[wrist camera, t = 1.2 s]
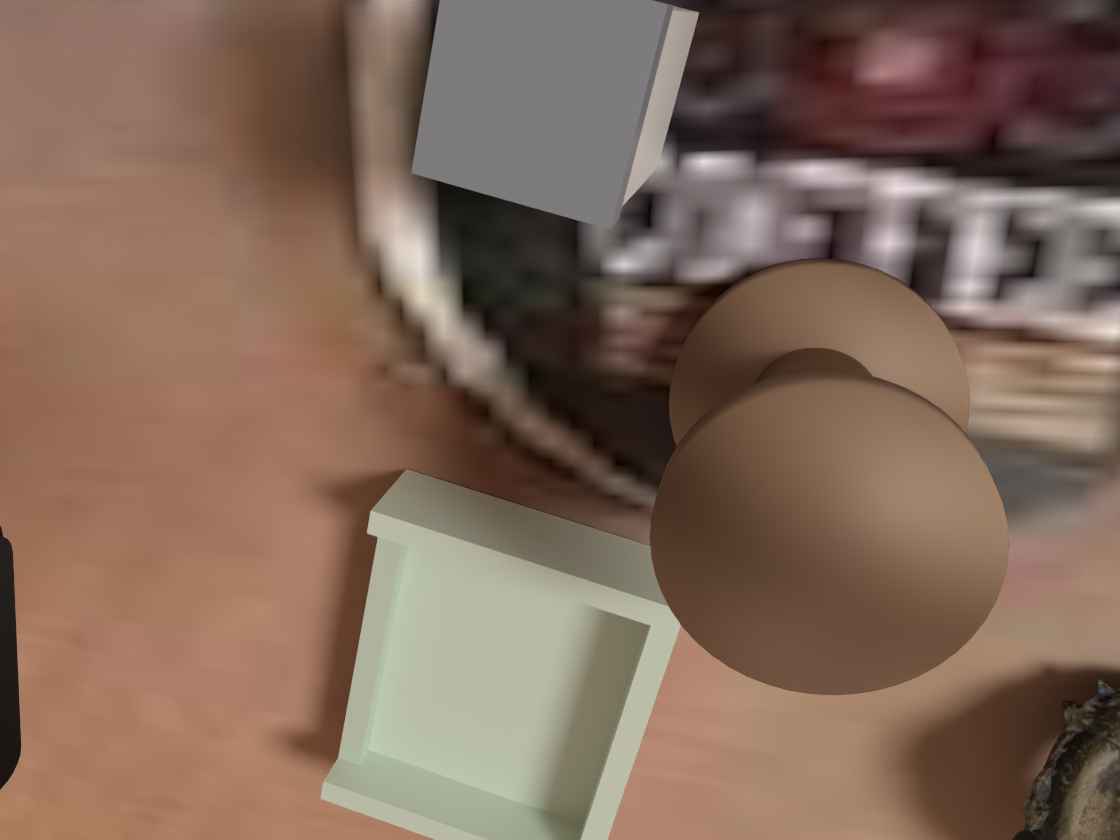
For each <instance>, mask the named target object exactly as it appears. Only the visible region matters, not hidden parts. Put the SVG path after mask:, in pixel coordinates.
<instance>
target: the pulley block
mask: <svg viewBox="0 0 1120 840" xmlns="http://www.w3.org/2000/svg"><path fill="white" fill-rule="evenodd" d="M1098 683H1099V685H1098V689H1097V693H1096V695H1095V696H1094V697H1092V698H1091V699H1090V700H1088V701H1087V702H1085V703H1084V704H1083V705H1080V704H1078V703H1077V702H1075V701H1062V704H1061V706H1062V710H1063V713H1064V717H1065V720H1066V725H1065V727H1064V729H1063V730H1062V732H1061V734H1060V736H1059V737H1058V739H1057V741H1056V743H1055V745H1054V746H1053V748H1052V750H1051V752H1050V754H1049V756H1048V759H1047V761H1046V763H1045V766H1044V768H1043V770H1042V771H1041V772H1040V773H1039V775H1038V776H1037V777H1036V778H1035V779H1034V781H1033V784H1032V792H1031V796H1030V797H1029V798H1028V799H1027V800H1026V801H1025V802H1024V803H1023V809H1024V813H1025V817H1026V826H1025V829H1024V831H1031V832H1035V833H1038V834H1041V835H1045V836H1048V837H1051V838H1055V839H1058V840H1120V688H1119V689H1112V688H1111V687H1110V686H1109V685H1107V684H1105V683H1104V682H1102V681H1100V680H1099V679H1098Z"/></svg>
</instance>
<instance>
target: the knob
mask: <svg viewBox="0 0 1120 840" xmlns="http://www.w3.org/2000/svg"><path fill="white" fill-rule="evenodd" d="M969 403H970V397H969V386H968V379H967V375H966V371H965V367H964V363H963V360H962V358H961V356H960V353H959V351H958V348H957V346H956V344H955V342H954V340H953V338H952V336H951V334H950V332H949V331H948V329H947V327H946V326H945V324H944V322H943V321H942V319H941V318H940V316H939V315H938V314H937V313H936V311H935V310H934V309H933V308H932V307H931V305H930V304H929V303H928V302H927V301H926V300H925V299H923V298H922V297H921V296H920V295H919V294H918V293H917V292H916V291H915V290H913V289H912V288H910V287H909V286H907V285H906V284H905V283H903V282H902V281H900V280H899V279H897V278H895V277H893V276H891V275H889V274H887V273H885V272H883V271H881V270H878V269H875V268H872V267H869V266H866V265H863V264H859V263H854V262H850V261H845V260H835V259H803V260H797V261H791V262H785V263H781V264H778V265H775V266H771V267H768V268H765V269H763V270H760V271H758V272H756V273H754V274H751V275H749V276H747V277H745V278H744V279H742V280H740V281H739V282H737V283H735V284H734V285H732V286H731V287H729V288H728V289H727V290H726V291H724V292H723V293H722V294H721V295H719V296H718V297H717V298H716V299H715V300H714V301H713V302H712V303H711V304H710V305H709V306H708V307H707V308H706V309H705V310H704V311H703V312H702V314H701V315H700V317H699V318H698V319H697V321H696V322H695V323H694V325H693V326H692V328H691V330H690V332H689V334H688V335H687V337H686V339H685V341H684V343H683V346H682V349H681V351H680V354H679V357H678V359H677V362H676V365H675V368H674V372H673V377H672V381H671V386H670V397H669V412H670V423H671V428H672V433H673V438H674V441H675V444H676V446H677V447H676V449H675V450H674V452H673V454H672V456H671V457H670V459H669V461H668V464H667V466H666V469H665V471H664V474H663V476H662V479H661V483H660V486H659V490H658V493H657V497H656V500H655V505H654V509H653V513H652V518H651V530H650V545H651V558H652V562H653V567H654V572H655V576H656V579H657V581H658V584H659V587H660V589H661V592H662V595H663V596H664V598H665V600H666V602H667V604H668V606H669V608H670V610H671V611H672V613H673V614H674V616H675V617H676V618H677V620H678V621H679V623H680V624H681V625H682V627H683V628H684V629H685V630H686V631H687V632H688V633H689V635H690V636H691V637H692V638H693V639H694V640H695V641H696V642H697V643H698V644H699V645H700V646H702V647H703V648H704V649H705V650H706V651H707V652H709V653H710V654H711V655H712V656H714V657H715V658H717V659H718V660H720V661H721V662H722V663H724V664H725V665H727V666H728V667H730V668H732V669H734V670H736V671H738V672H740V673H742V674H744V675H745V676H747V677H750V678H752V679H755V680H757V681H760V682H762V683H765V684H768V685H771V686H775V687H778V688H782V689H786V690H790V691H796V692H802V693H808V694H822V695H845V694H858V693H864V692H870V691H876V690H880V689H884V688H888V687H891V686H895V685H898V684H901V683H903V682H906V681H908V680H911V679H913V678H916V677H918V676H920V675H922V674H924V673H926V672H927V671H929V670H931V669H933V668H935V667H937V666H938V665H940V664H941V663H942V662H944V661H945V660H947V659H948V658H949V657H951V656H952V655H953V654H955V653H956V652H957V651H958V650H959V649H960V648H961V647H962V646H963V645H964V644H966V643H967V642H968V641H969V640H970V639H971V638H972V636H973V635H974V634H975V633H976V632H977V630H978V629H979V628H980V627H981V625H982V624H983V623H984V621H985V620H986V618H987V616H988V615H989V613H990V611H991V610H992V608H993V606H994V605H995V602H996V600H997V597H998V595H999V592H1000V590H1001V588H1002V585H1003V581H1004V577H1005V573H1006V568H1007V564H1008V550H1009V538H1008V526H1007V520H1006V516H1005V512H1004V508H1003V504H1002V500H1001V498H1000V496H999V493H998V491H997V489H996V486H995V484H994V481H993V479H992V477H991V475H990V472H989V470H988V468H987V465H986V463H985V461H984V459H983V457H982V456H981V454H980V453H979V451H978V449H977V448H976V446H975V444H974V443H973V441H972V440H971V439H970V438H969V437H968V435H967V434H966V428H967V423H968V419H969Z"/></svg>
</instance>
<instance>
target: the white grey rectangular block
mask: <svg viewBox="0 0 1120 840" xmlns="http://www.w3.org/2000/svg"><path fill="white" fill-rule="evenodd" d="M698 15H699V12H695V11H691V10H687V9H683V8H679V7H675V6H674V5H670V4H666V3H662V2H658V1H655V0H440V3H439V9H438V15H437V21H436V27H435V33H434V39H433V45H432V51H431V57H430V63H429V69H428V75H427V81H426V87H425V93H424V99H423V105H422V111H421V117H420V123H419V129H418V135H417V141H416V147H415V153H414V159H413V165H412V171H411V173H412V174H416V175H419V176H423V177H426V178H430V179H434V180H437V181H441V182H444V183H448V184H451V185H455V186H458V187H462V188H465V189H469V190H472V191H476V192H480V193H483V194H487V195H490V196H494V197H497V198H501V199H504V200H508V201H511V202H515V203H518V204H522V205H526V206H529V207H533V208H536V209H540V210H543V211H547V212H550V213H554V214H557V215H561V216H564V217H568V218H572V219H575V220H579V221H582V222H586V223H589V224H593V225H596V226H600V227H603V228H607V229H611V228H612V227H613V226H614V225H615V224H616V223H617V221H618V220H619V216H620V212H621V209H622V206H623V205H624V204H625V203H626V202H627V201H628V200H629V199H630V197H631V196H632V195H633V194H634V193H635V192H636V191H637V190H638V189H639V188H640V187H641V185H642V184H643V183H644V182H645V181H646V180H647V179H648V178H649V177H650V176H651V175H652V173H653V172H654V171H655V170H656V169H657V168H658V164H659V160H660V157H661V153H662V149H663V146H664V142H665V138H666V134H667V131H668V127H669V123H670V119H671V116H672V112H673V108H674V105H675V101H676V97H677V93H678V90H679V86H680V82H681V78H682V75H683V71H684V67H685V63H686V60H687V56H688V52H689V49H690V45H691V41H692V37H693V34H694V30H695V26H696V22H697V19H698Z"/></svg>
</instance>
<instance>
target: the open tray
mask: <svg viewBox="0 0 1120 840" xmlns="http://www.w3.org/2000/svg"><path fill="white" fill-rule="evenodd" d="M367 534H370V535H373V536H376V537H378V539H377V545H376V550H375V556H374V561H373V567H372V572H371V578H370V584H369V589H368V595H367V600H366V606H365V611H364V617H363V622H362V628H361V634H360V639H359V645H358V650H357V656H356V661H355V667H354V672H353V678H352V684H351V689H350V695H349V700H348V706H347V711H346V717H345V722H344V728H343V734H342V739H341V745H340V750H339V756H338V759H337V760H336V762H335V764H334V765H333V767H332V768H331V770H330V772H329V773H328V775H327V776H326V778H325V780H324V781H323V787H322V793H321V799H323V800H326V801H329V802H331V803H334V804H337V805H340V806H343V807H345V808H348V809H351V810H354V811H357V812H359V813H362V814H365V815H368V816H371V817H373V818H376V819H379V820H382V821H385V822H387V823H390V824H393V825H396V826H399V827H401V828H404V829H407V830H410V831H413V832H415V833H418V834H421V835H424V836H427V837H429V838H432V839H435V840H607V839H608V836H609V833H610V830H611V828H612V825H613V822H614V819H615V816H616V813H617V810H618V807H619V804H620V801H621V798H622V795H623V793H624V790H625V787H626V784H627V781H628V778H629V775H630V772H631V769H632V766H633V763H634V760H635V757H636V755H637V752H638V749H639V746H640V743H641V740H642V737H643V734H644V731H645V728H646V725H647V722H648V720H649V717H650V714H651V711H652V708H653V705H654V702H655V699H656V696H657V693H658V690H659V687H660V685H661V682H662V679H663V676H664V673H665V670H666V667H667V664H668V661H669V658H670V655H671V652H672V649H673V647H674V644H675V641H676V638H677V635H678V632H679V629H680V626H681V624H680V623H679V621H678V620H677V618H676V617H675V616H674V614H673V613H672V611H671V610H670V608H669V606H668V604H667V602H666V600H665V598H664V596H663V595H662V592H661V589H660V587H659V584H658V581H657V579H656V576H655V572H654V567H653V562H652V558H651V546H648V545H645V544H642V543H639V542H636V541H633V540H630V539H626V538H623V537H620V536H617V535H614V534H611V533H607V532H604V531H601V530H598V529H595V528H592V527H588V526H585V525H582V524H579V523H576V522H573V521H569V520H566V519H563V518H560V517H557V516H554V515H550V514H547V513H544V512H541V511H538V510H535V509H531V508H528V507H525V506H522V505H519V504H516V503H513V502H509V501H506V500H503V499H500V498H497V497H494V496H490V495H487V494H484V493H481V492H478V491H475V490H471V489H468V488H465V487H462V486H459V485H456V484H452V483H449V482H446V481H443V480H440V479H437V478H433V477H430V476H427V475H424V474H421V473H418V472H414V471H411V470H408V469H406V470H405V471H404V473H403V474H402V475H401V476H400V477H399V478H398V479H397V481H396V482H395V483H394V484H393V485H392V486H391V488H390V489H389V490H388V491H387V492H386V493H385V495H384V496H383V497H382V498H381V499H380V500H379V502H378V503H377V504H376V505H375V506H374V507H373V508H372V510H371V512H370V517H369V523H368V529H367Z"/></svg>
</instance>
